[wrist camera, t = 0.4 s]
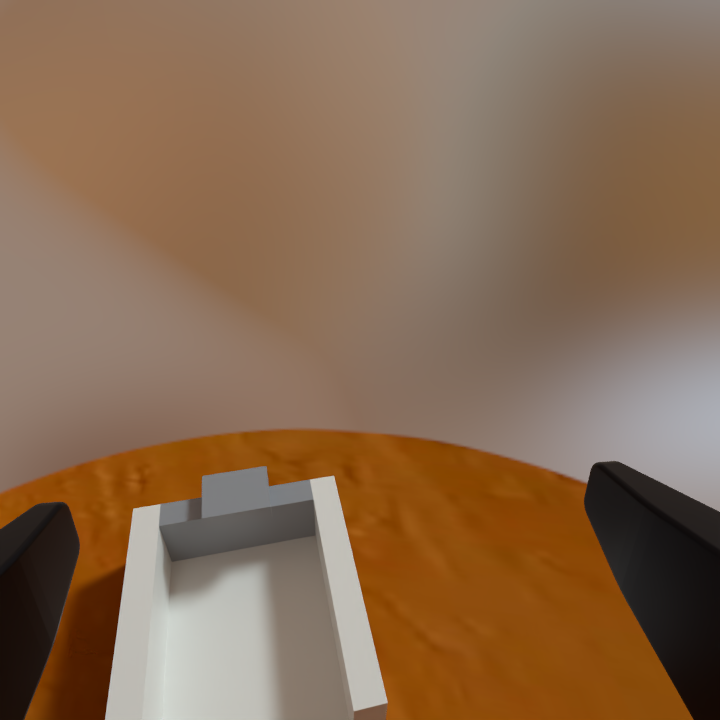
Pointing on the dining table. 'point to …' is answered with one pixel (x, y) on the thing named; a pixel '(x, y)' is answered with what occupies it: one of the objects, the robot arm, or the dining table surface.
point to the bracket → (244, 609)
